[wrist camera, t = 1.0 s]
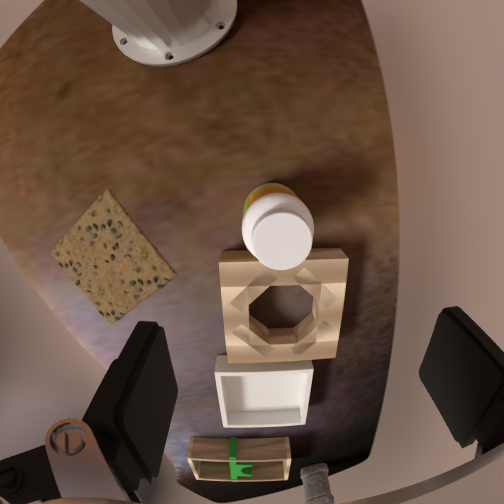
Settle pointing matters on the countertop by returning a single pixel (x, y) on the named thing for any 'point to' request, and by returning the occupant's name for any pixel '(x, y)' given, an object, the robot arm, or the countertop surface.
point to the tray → (263, 392)
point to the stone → (316, 484)
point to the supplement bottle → (277, 226)
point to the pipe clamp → (237, 467)
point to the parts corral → (240, 458)
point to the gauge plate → (261, 277)
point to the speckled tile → (111, 259)
